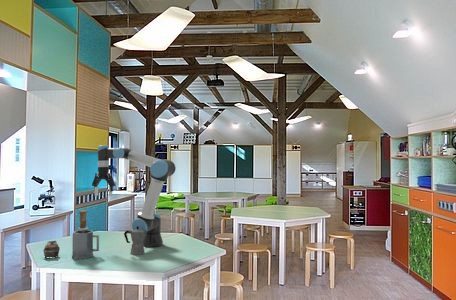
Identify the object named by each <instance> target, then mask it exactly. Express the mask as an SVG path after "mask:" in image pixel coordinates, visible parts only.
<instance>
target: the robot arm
mask: <svg viewBox="0 0 456 300" xmlns="http://www.w3.org/2000/svg"><path fill="white" fill-rule="evenodd" d="M109 159H125V160H128V161H131V162H133V163H137V164H140V165H142V166H146V167H148V168H149V171H150V178H151V179H150V180H151V181H150V184H149V187H148V189H147V192H146V195H145V199H144V201H143V205H142V207H141V208H142V209H141V211H139V212H138V213H137V215H136V216H137V217H136V218H134V220H133V221H132V223H131V229H132V230H136V229H137V228H136V227H137V226H138V227H139V229H141V230H146V231H148V232H147V233H146V234H145V236H144V240H143V246H144V248H145V247H146V248H157V247H162V246H163V245H164V240H163V237H162V234H161V231H162V230H161V223H162V222H161V220H162V219H161V218H162V217H161V214H160V213H155V210H156V207H157V204H158V201H159V198H160V194H161V193H162V189H163V187H164V183H166V182H168V181H167V180H168V178H169V177H171V176H173V175H174V173H175V172H176V168H177V167H176V164H175V162H173V161H172V160H169V159H164V158H161V159H160V158H156V157H153V156H151V155H147V154H144V153H142V152H138V151H135V150H132V149H130V148H126V147H124V148H123V147H109V145H103V144H102V145H98V146H97V172H95V174H94V178H93V181H92V183H91V187H93V191H94V197H97V196H99V184H100V183H101V181H102V180H104V181H106V183H107V185H108V197H113V191H114V187H115V186H116V183H115V180H114V178H113V173H110V169H109V166H110V165H109V162H110V161H109Z"/></svg>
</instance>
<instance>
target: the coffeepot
mask: <svg viewBox="0 0 456 300" xmlns="http://www.w3.org/2000/svg"><path fill="white" fill-rule="evenodd" d="M136 228H137V229H136V230H133V229H132V230H131V229H130V230H125V231H124V233H123V235H124V239H125V241H126V243H127V244H130V243H131V242H132V244H131V248H130V252H129V254H130V255H132V256H140V255H141V256H142V255H144V254H145V252H146V251H145V247H144V246H143V240H144V236H145V234H146V233H147V232H148V231H146V230H141V229H139V227H138V226H137V227H136ZM128 234H130V237H131V241H129V238H128Z"/></svg>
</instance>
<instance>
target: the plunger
mask: <svg viewBox="0 0 456 300" xmlns="http://www.w3.org/2000/svg"><path fill="white" fill-rule="evenodd" d="M78 213H79V227H77V231H79V230H82V233H84V230H89V228H88V227H87V213H88V210H86V209H85V210H79V211H78Z"/></svg>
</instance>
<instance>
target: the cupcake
mask: <svg viewBox="0 0 456 300" xmlns="http://www.w3.org/2000/svg"><path fill="white" fill-rule="evenodd" d="M59 253H60V246H59V244H58V242H57V241H56V240H52V241H47V243H46V244H45V246H44V248H43V256H45V257H56V256H58V257H59ZM45 257H44V258H45ZM56 258H57V257H56Z"/></svg>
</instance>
